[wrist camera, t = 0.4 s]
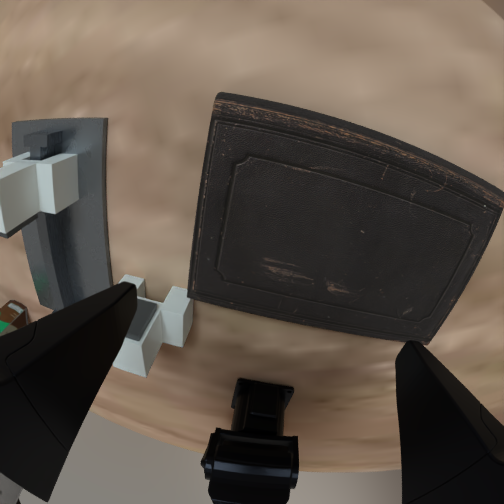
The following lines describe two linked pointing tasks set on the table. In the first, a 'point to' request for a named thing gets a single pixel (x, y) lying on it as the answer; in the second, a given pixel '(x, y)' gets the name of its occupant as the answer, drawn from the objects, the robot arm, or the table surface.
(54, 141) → the rail
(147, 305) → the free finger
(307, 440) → the table surface
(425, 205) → the hardcover book
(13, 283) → the table surface
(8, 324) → the food container
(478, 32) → the table surface
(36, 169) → the block
